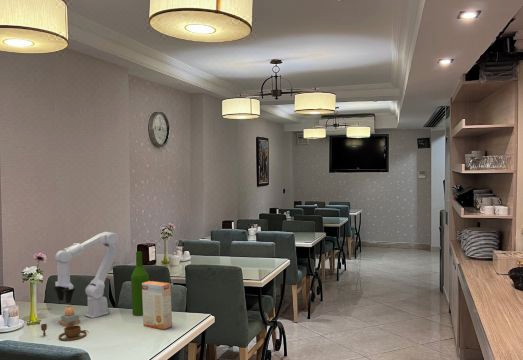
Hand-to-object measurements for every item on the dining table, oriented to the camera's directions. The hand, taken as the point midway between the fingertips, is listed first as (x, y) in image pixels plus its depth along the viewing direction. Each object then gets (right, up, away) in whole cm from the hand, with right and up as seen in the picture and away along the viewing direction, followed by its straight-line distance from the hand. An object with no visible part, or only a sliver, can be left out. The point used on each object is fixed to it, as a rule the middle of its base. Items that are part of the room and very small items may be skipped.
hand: (64, 301), depth 249 cm
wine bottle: (+36, -9, +10) cm, 39 cm away
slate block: (+4, -8, -4) cm, 10 cm away
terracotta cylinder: (+4, -6, -3) cm, 8 cm away
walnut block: (+4, -11, -4) cm, 12 cm away
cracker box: (+49, -9, -12) cm, 52 cm away
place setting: (+10, -11, -21) cm, 25 cm away
